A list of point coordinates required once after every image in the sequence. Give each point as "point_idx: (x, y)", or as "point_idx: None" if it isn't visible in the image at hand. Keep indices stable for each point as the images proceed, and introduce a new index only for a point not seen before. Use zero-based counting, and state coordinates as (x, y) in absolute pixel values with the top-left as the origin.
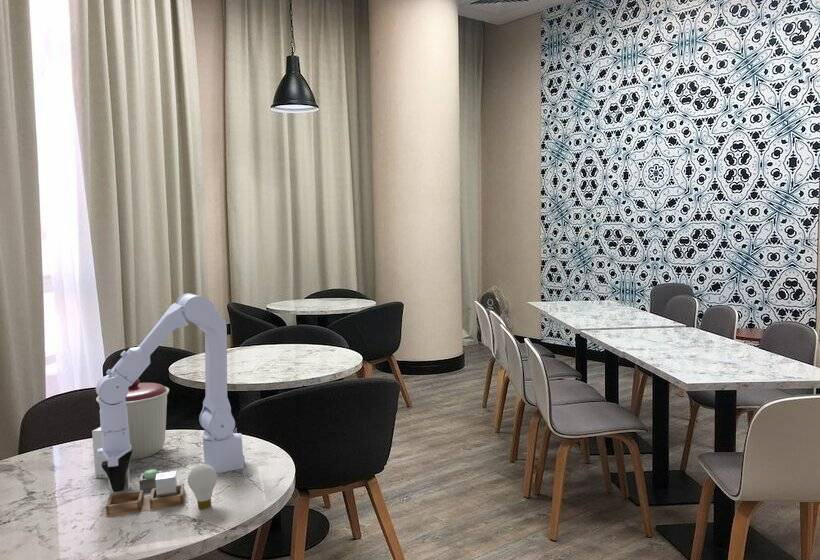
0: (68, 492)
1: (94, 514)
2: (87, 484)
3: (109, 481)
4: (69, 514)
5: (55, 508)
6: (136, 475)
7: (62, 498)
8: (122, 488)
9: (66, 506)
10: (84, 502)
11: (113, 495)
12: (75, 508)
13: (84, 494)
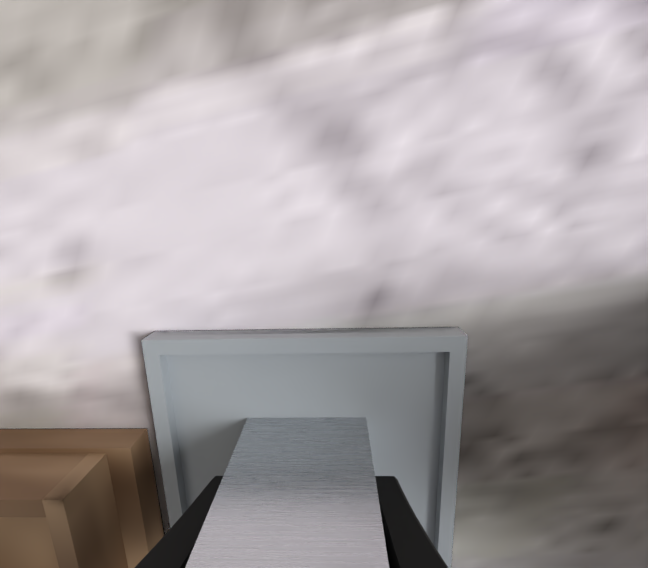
0: (526, 87)
1: (35, 357)
2: (639, 211)
3: (204, 525)
4: (65, 200)
5: (203, 62)
6: (631, 511)
7: (403, 67)
8: None
9: (219, 143)
10: (255, 260)
11: (48, 518)
12: (162, 219)
13: (418, 230)
